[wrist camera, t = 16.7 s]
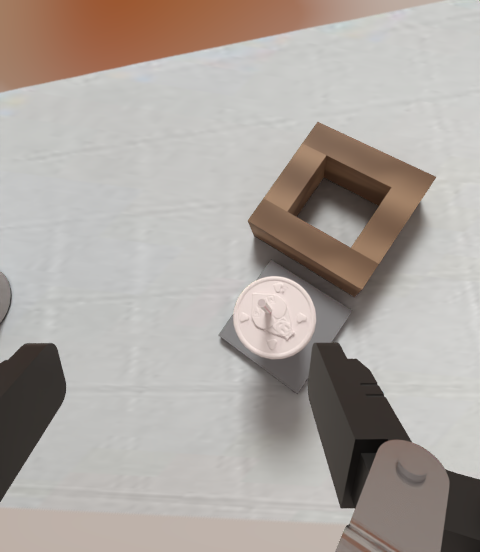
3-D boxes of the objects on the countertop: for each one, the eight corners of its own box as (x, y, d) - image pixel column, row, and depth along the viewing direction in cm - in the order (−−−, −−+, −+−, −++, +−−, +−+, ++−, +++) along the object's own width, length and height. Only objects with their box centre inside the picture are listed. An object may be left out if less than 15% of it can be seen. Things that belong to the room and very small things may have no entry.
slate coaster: (297, 392, 33) (297, 394, 32) (220, 335, 36) (218, 335, 35) (351, 311, 34) (352, 310, 33) (271, 261, 37) (270, 259, 36)
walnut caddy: (354, 297, 34) (362, 289, 30) (253, 235, 38) (247, 220, 34) (420, 198, 35) (436, 177, 31) (316, 147, 39) (317, 121, 35)
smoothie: (283, 282, 35) (271, 241, 22) (326, 328, 33) (342, 313, 20) (239, 322, 35) (198, 305, 22) (279, 370, 33) (262, 384, 20)
